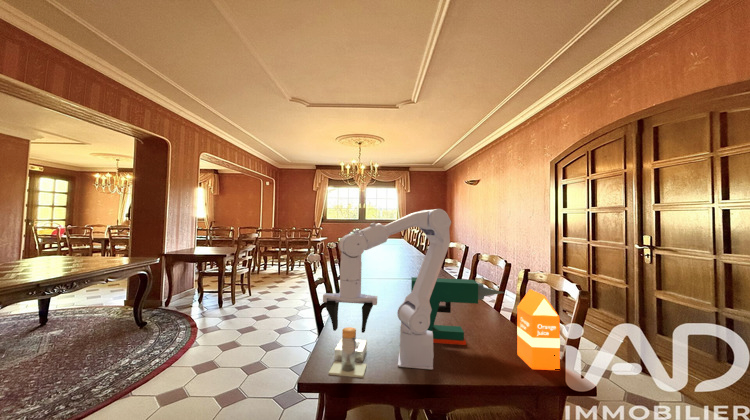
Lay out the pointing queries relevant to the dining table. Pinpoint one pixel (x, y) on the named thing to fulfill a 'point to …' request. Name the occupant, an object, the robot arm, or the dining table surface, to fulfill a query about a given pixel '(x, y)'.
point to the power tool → (450, 293)
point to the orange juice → (538, 332)
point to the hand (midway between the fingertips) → (349, 330)
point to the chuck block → (359, 353)
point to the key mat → (357, 372)
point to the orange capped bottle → (348, 349)
